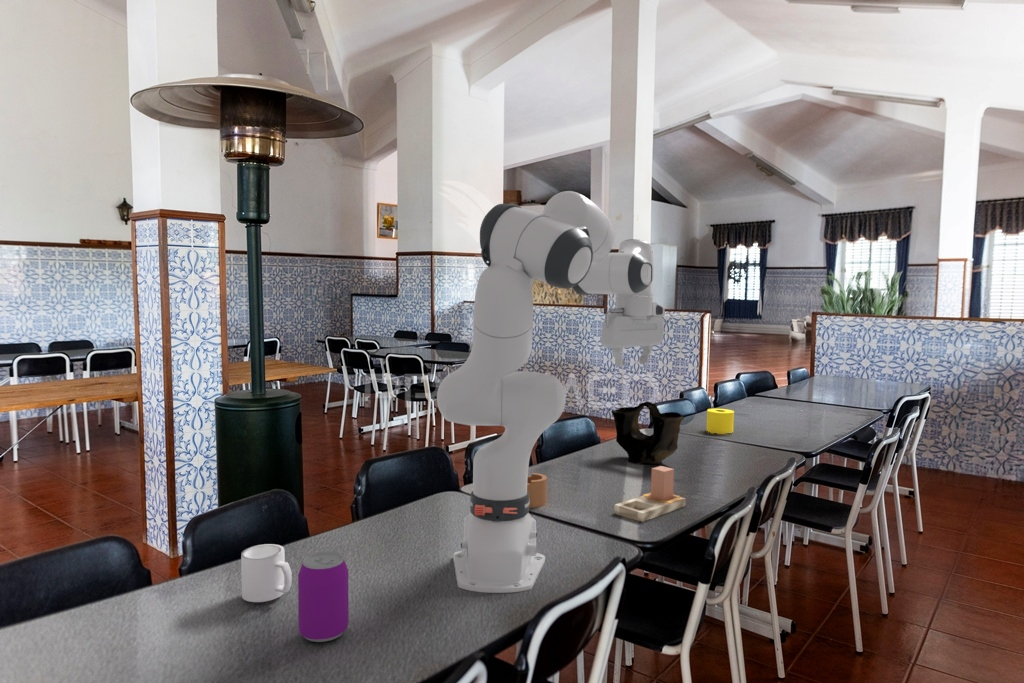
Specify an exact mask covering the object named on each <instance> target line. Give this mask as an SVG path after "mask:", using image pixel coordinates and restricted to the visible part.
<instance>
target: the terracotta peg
mask: <svg viewBox="0 0 1024 683" xmlns="http://www.w3.org/2000/svg"><path fill="white" fill-rule="evenodd" d="M650 476H651V478H650V481H651V482H650V492H651V498H654V499H658V500H661V501H665V502H666V501H669V500H672V499H673V494H674V488H675V487H674V486H675V485H674V480H675V479H674V478H675V469H674V468H671V467H667V466H662V465H658V466H656V467H651V475H650Z"/></svg>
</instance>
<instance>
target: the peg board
mask: <svg viewBox="0 0 1024 683" xmlns="http://www.w3.org/2000/svg"><path fill="white" fill-rule="evenodd" d="M685 506H686V498H685V497H682V496H680V495H678V494H677V495H676V494H674V493H673V499H672V500H669V501H666V502H665V501H661V500H658V499H654V498H651V491H650V492H648V493H644V494H642V495H641V496H638V497H634V498H632V499H629V500H625V501H622V502H619V503H618V502H617V503H615V504H614V510H613V511H614V515H617V516H621V517H624V518H628V519H630V520H635V521H638V522H640V521H641V523H644V522H646V520H647V521H650V520H652V519H654V518H658V517H659V516H663V515H665V514H668V513H671V512H673V511H675V510H678V509H681V508H684V507H685ZM649 519H650V520H649Z"/></svg>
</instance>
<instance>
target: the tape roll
mask: <svg viewBox="0 0 1024 683" xmlns="http://www.w3.org/2000/svg"><path fill="white" fill-rule="evenodd" d="M734 420H735V411H734V410H732V409H726V408H708V409H707V410H706V432H707V431H708V432H707V433H709V432H710V433H709V434H714V433H717V434H716V435H726V434H725V433H732V432H733V433H734V423H735V422H734ZM733 433H732V434H733Z"/></svg>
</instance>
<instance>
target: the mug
mask: <svg viewBox="0 0 1024 683" xmlns="http://www.w3.org/2000/svg"><path fill="white" fill-rule="evenodd" d="M285 552H286V551H285V547H283V546H282V545H280V544H275V543H264V544H257V545H253V546H250V547H248V548H245V549H244V550H242V551H241V556H240V558H241V559H240V561H241V564H240V566H241V568H240V569H241V570H240V572H241V598H242V599H243V600H244V601H247V602H249V603H250V602H251V603H264V602H270V601H273V600H276V599H277V598H280V597H282V595H284V594H285V593H287V592H289V591H290V590H291V586H292V584H293V583H292V582H293V577H292V576H293V575H292V574H293V573H292V569H291V567H290V564H289V562H287V561H286V560H285V557H286V556H285Z"/></svg>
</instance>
